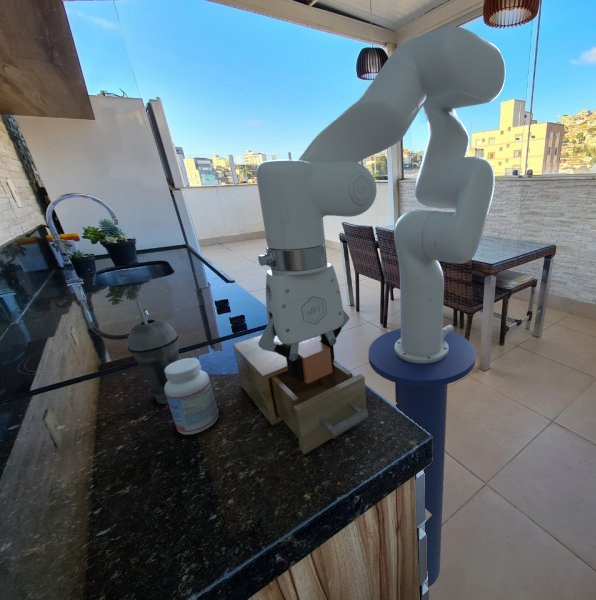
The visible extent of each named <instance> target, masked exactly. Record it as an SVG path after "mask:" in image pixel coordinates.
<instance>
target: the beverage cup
mask: <svg viewBox="0 0 596 600" xmlns="http://www.w3.org/2000/svg"><path fill="white" fill-rule="evenodd" d="M134 302H135V304H136V306H137V310H138V312H139V315H140V317H141V319H142V321H140V322H139V323H137V324H136V325H134V326H133V328H132V329H131V330H130V332H129V334H128V336H127V350H128V351H129V353H130V354H131V356H132V357H133V359H134V360H135V361H136V362H137V364H138V367H139V369H140V370H141V372H142V373H141V374H143V377H144V378H145V381H146V383H147V385H148V387H149V389H150V391H151V392H152V395H153V397H154V398H155V400H156V402H157V403H158V404H161V405H162V404H163V405H164V404H168V401H167V397H166V394H165V391H164V387H165V384H166V382H167V381H168V380H167V378H166V375H165V368H166V367H167V366H168V365H169V364H171V363H173V362H175V361H178V360H181V357H180V352H179V335H178V334H177V332H176V330H175V329H174V328H173V326H172V325H171V324H169V323H168V322H166V321H164V320H161V319H147V318H146V315H145V313H144V309H143V308H142V305H141V302H140V300H139V299H138V298H136V299H134Z"/></svg>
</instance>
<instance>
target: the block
mask: <svg viewBox="0 0 596 600" xmlns="http://www.w3.org/2000/svg"><path fill="white" fill-rule="evenodd" d="M298 357H300V358H301V359H302V365H303V373H304V382H306V383H307V384H308V383H310V382H312V381H315V380H317V379H319V378H321V377H323V376H326V375H328V374H330V373H332V363H331V353H330V348H329V347H328V346H326V345H325V344H323V343H322V342H320V341H318V340H317V339H313V340H311V341H308V342H305V343H302V344H300V345H299V348H298Z"/></svg>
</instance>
